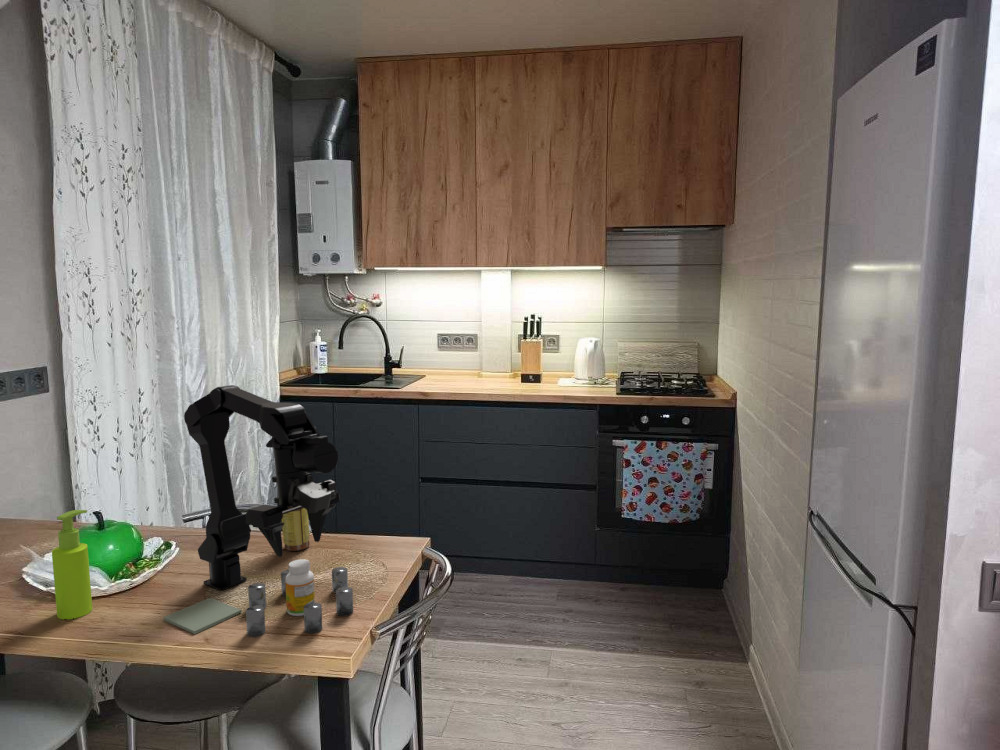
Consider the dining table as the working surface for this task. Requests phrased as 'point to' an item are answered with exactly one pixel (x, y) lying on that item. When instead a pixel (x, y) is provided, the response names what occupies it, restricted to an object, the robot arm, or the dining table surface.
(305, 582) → the supplement bottle
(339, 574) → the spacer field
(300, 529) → the sauce bottle
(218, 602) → the mat
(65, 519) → the soap dispenser
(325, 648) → the dining table surface
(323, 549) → the dining table surface
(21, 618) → the dining table surface
